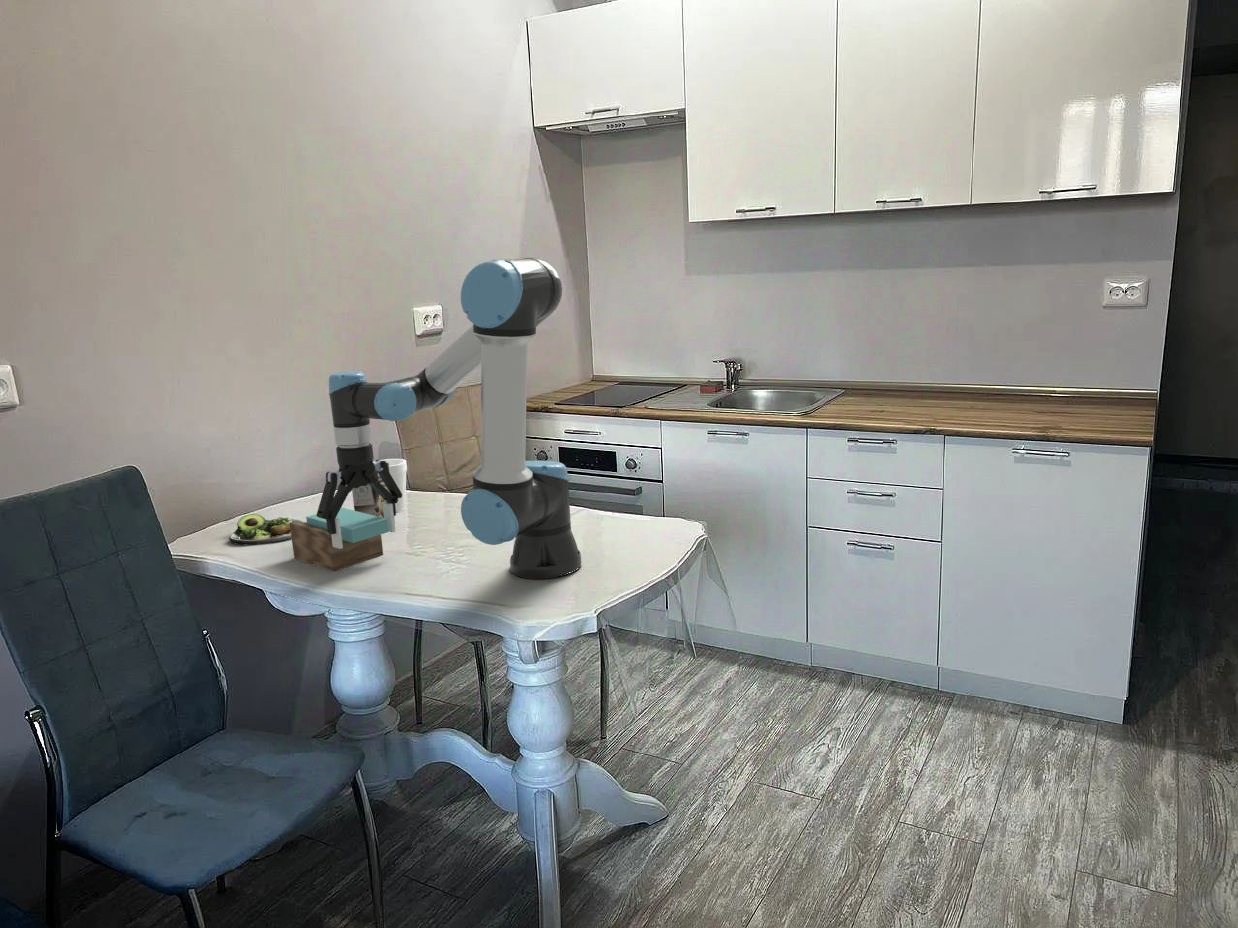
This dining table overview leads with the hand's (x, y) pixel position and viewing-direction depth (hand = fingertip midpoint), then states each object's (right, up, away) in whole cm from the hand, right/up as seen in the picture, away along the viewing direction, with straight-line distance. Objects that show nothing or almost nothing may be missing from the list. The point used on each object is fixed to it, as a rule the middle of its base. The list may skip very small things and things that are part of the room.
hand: (364, 539), depth 204 cm
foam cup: (-5, +4, +46) cm, 46 cm away
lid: (-5, +2, +4) cm, 6 cm away
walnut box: (-8, -5, +9) cm, 13 cm away
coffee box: (-5, 0, +29) cm, 29 cm away
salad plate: (-33, -2, +29) cm, 44 cm away
